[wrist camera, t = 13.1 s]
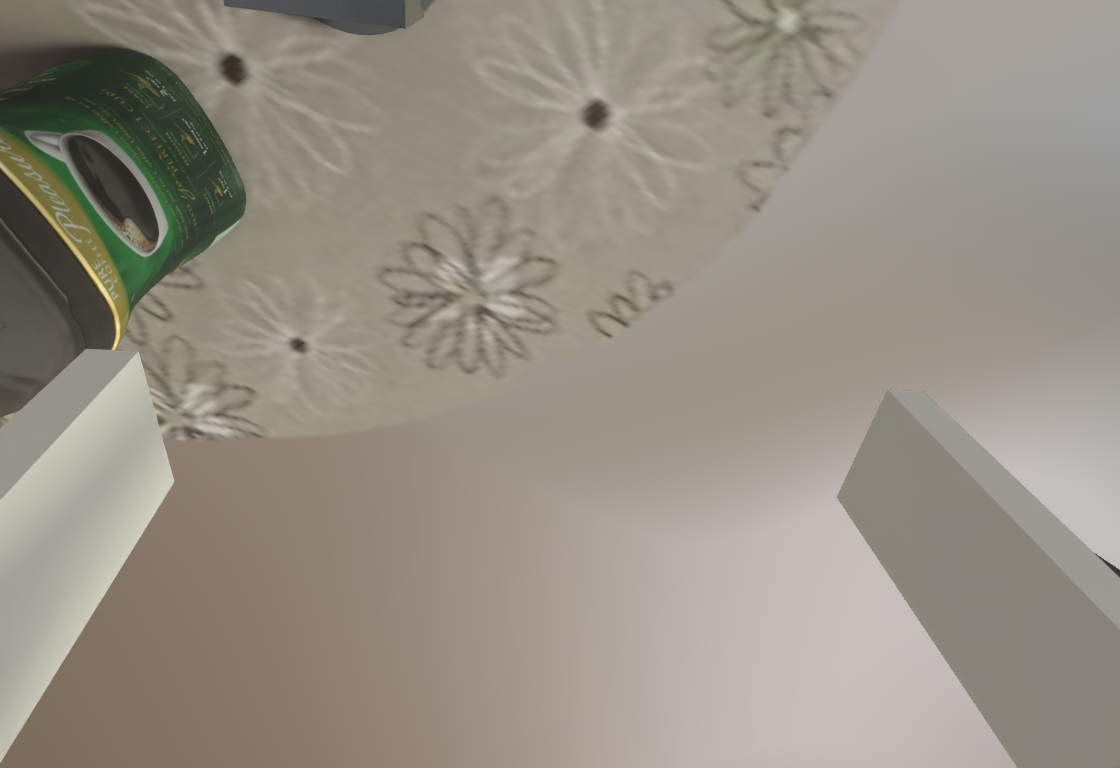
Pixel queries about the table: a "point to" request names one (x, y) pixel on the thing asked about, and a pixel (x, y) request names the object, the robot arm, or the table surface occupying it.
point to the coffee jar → (98, 206)
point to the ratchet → (364, 25)
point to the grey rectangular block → (344, 10)
